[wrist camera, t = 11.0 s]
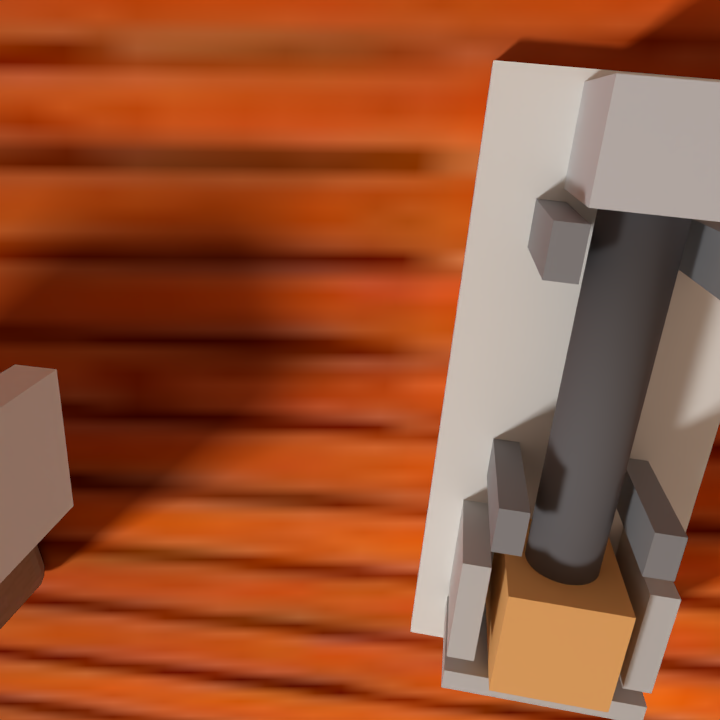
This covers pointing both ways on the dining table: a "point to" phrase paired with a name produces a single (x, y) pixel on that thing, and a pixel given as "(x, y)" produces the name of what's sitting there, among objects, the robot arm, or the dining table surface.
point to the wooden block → (20, 584)
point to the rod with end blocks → (603, 384)
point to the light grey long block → (556, 390)
